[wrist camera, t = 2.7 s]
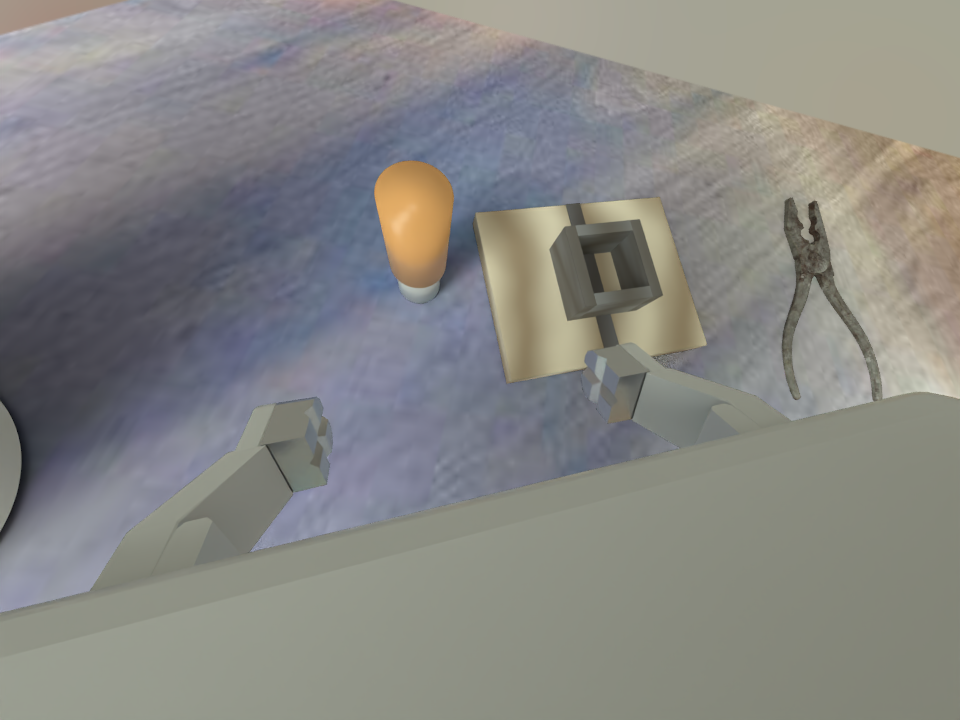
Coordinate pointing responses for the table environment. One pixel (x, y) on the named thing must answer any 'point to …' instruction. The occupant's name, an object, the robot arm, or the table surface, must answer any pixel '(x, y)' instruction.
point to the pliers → (811, 264)
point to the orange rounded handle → (415, 225)
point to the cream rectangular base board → (583, 284)
